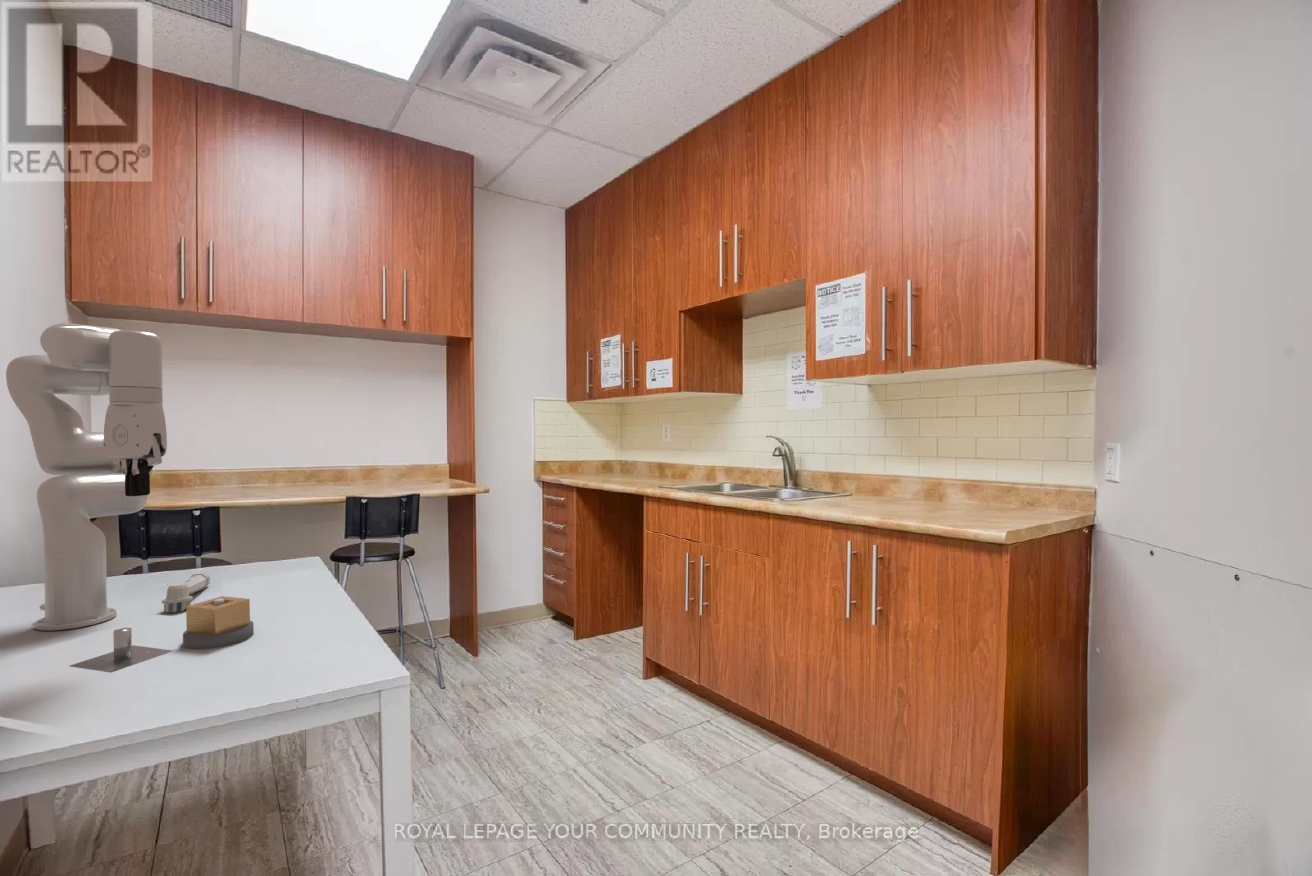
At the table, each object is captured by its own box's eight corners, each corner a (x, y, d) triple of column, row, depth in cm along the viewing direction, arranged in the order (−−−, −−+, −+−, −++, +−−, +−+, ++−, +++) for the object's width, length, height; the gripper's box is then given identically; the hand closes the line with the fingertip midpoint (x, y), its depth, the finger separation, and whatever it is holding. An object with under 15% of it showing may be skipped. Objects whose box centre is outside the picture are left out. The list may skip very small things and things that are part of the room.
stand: (68, 671, 102) (68, 636, 102) (133, 650, 111) (133, 618, 111) (111, 678, 99) (110, 642, 99) (173, 656, 109) (173, 623, 109)
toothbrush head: (213, 571, 157) (188, 580, 135) (212, 597, 157) (187, 610, 134) (188, 573, 155) (159, 583, 133) (188, 600, 154) (158, 613, 132)
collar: (186, 632, 113) (186, 606, 112) (222, 621, 119) (221, 596, 119) (215, 636, 111) (215, 609, 111) (249, 624, 118) (249, 598, 117)
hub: (168, 651, 111) (167, 605, 111) (224, 631, 122) (224, 590, 122) (213, 657, 108) (212, 610, 108) (267, 636, 119) (266, 594, 119)
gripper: (84, 397, 110) (85, 496, 110) (144, 396, 106) (145, 499, 106) (129, 399, 117) (130, 492, 117) (187, 398, 113) (188, 494, 114)
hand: (137, 495), depth 112 cm, fingers closed
